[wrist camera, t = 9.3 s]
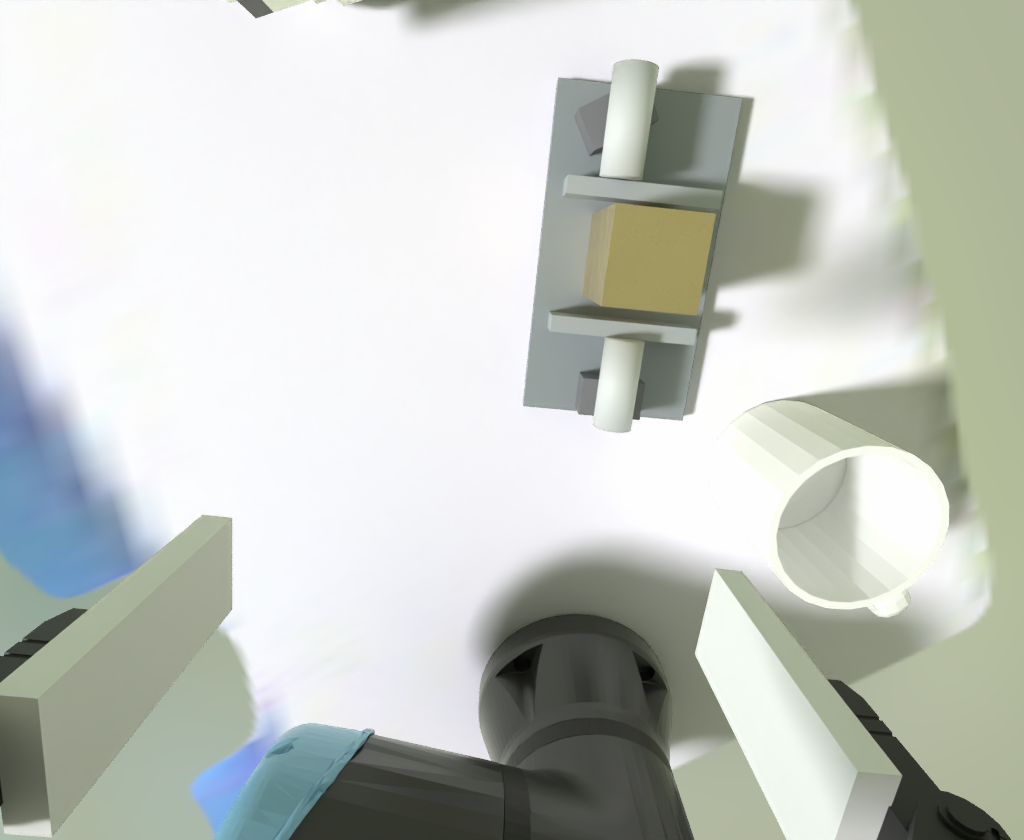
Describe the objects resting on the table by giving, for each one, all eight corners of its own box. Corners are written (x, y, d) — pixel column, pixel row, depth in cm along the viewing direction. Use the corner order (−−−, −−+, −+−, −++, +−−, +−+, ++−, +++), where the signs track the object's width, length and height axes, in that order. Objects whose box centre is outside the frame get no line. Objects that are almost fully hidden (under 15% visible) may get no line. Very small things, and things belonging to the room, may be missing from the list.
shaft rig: (678, 416, 41) (703, 440, 36) (523, 402, 40) (525, 424, 35) (736, 101, 35) (775, 75, 30) (557, 81, 35) (566, 51, 30)
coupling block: (658, 303, 38) (697, 315, 30) (581, 295, 37) (601, 306, 30) (671, 222, 36) (716, 213, 29) (592, 214, 36) (615, 203, 28)
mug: (681, 447, 41) (736, 508, 32) (807, 371, 40) (907, 410, 30) (760, 576, 44) (833, 669, 35) (881, 510, 43) (993, 586, 33)
